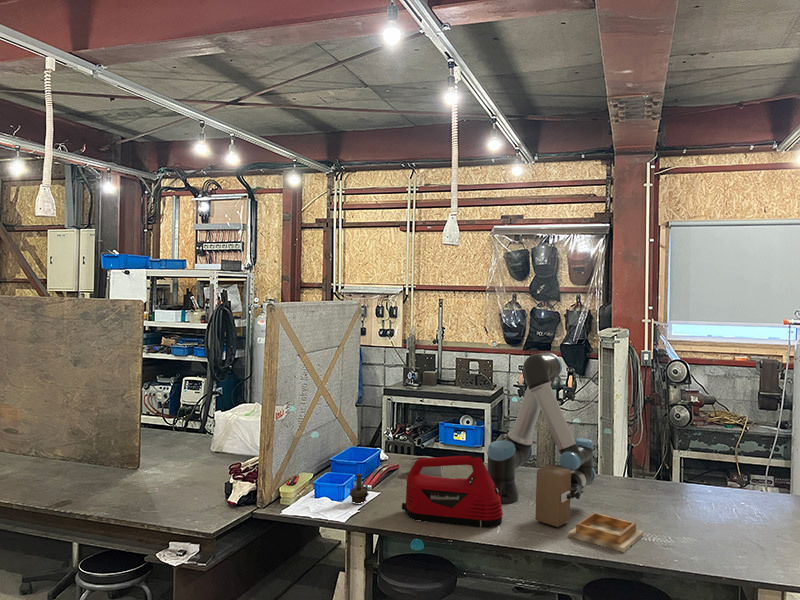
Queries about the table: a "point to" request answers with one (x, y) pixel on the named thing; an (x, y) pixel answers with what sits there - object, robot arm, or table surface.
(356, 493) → the industrial component
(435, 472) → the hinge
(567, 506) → the block
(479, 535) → the table surface
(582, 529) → the wooden tray
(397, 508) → the table surface
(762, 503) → the table surface
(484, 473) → the power tool
